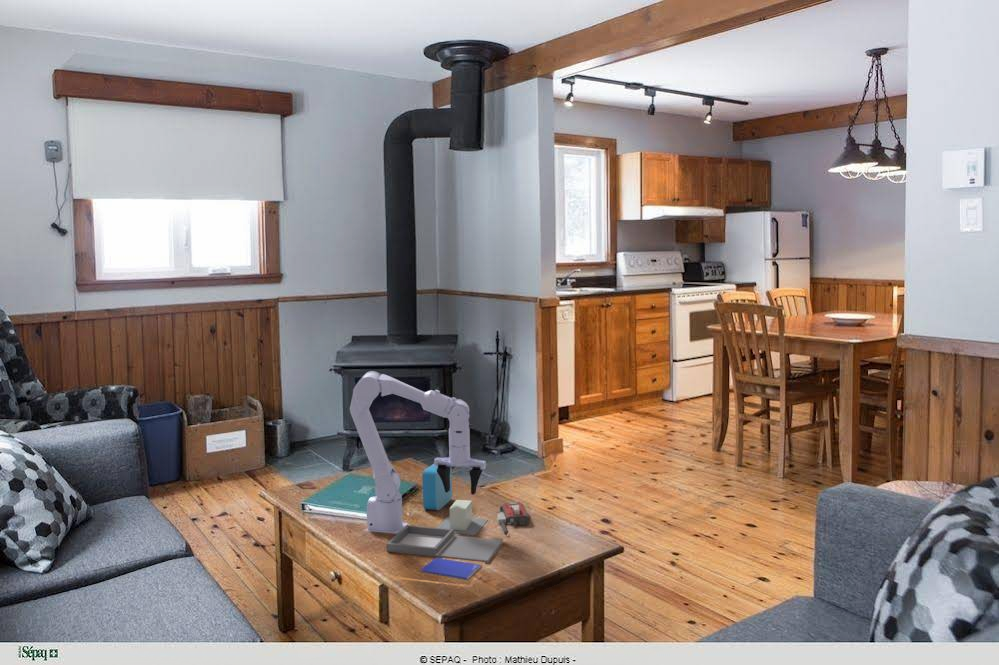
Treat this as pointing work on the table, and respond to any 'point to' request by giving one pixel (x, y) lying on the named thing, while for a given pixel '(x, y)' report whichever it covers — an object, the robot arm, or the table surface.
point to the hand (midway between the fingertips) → (460, 492)
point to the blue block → (435, 489)
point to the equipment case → (442, 544)
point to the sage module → (461, 514)
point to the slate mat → (471, 530)
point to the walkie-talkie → (512, 515)
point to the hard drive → (451, 568)
